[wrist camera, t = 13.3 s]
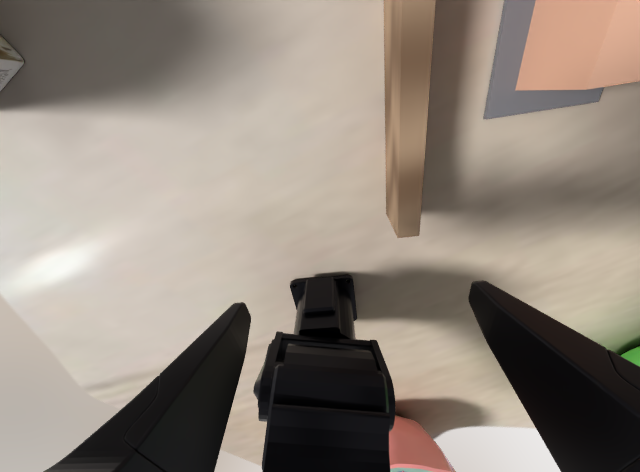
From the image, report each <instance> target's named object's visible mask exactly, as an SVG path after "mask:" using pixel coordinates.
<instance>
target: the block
mask: <svg viewBox="0 0 640 472" xmlns="http://www.w3.org/2000/svg"><path fill="white" fill-rule="evenodd" d="M637 81H640V0H536V1H535V6H534V10H533V15H532V19H531V23H530V28H529V32H528V36H527V41H526V45H525V50H524V54H523V58H522V63H521V67H520V72H519V76H518V80H517V85H516V89H515V91H516V90H588V89H594V88H600V87H606V86H612V85H619V84H625V83H631V82H637Z"/></svg>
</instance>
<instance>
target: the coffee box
mask: <svg viewBox="0 0 640 472" xmlns="http://www.w3.org/2000/svg"><path fill="white" fill-rule="evenodd" d="M23 64H24V61H23V58H22V57H21V56H20V55H19V54H18V53H17V52H16V51H15V50H14V49H13V48H12V47H11V46H10V45H9V44H8V43H7V42H6V41H5V40H4V38H3V37H2V36H1V35H0V91H1V90H2V89H3V88H4V86H5V85H6V84H7V83H8V82H9V81H10V79H11V78H12V77H13V76H14V75H15V74H16V73H17V71H18V70H19V69H20V68H21V67H22V66H23Z"/></svg>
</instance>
